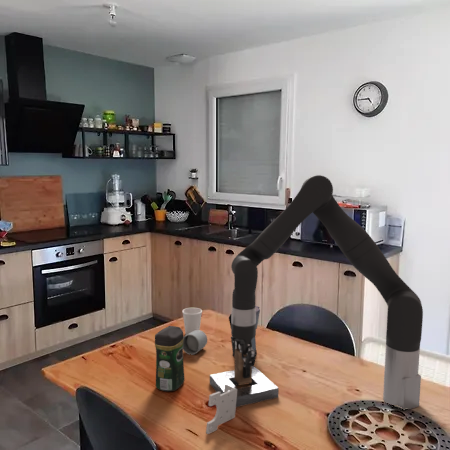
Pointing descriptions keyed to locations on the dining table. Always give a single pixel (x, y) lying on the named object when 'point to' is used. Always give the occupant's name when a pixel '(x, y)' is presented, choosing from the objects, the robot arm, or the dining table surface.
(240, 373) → the tan square peg
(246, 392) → the square hole plate
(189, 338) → the ceramic mug
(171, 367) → the coffee jar
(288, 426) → the dining table surface
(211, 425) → the bracket
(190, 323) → the dixie cup
